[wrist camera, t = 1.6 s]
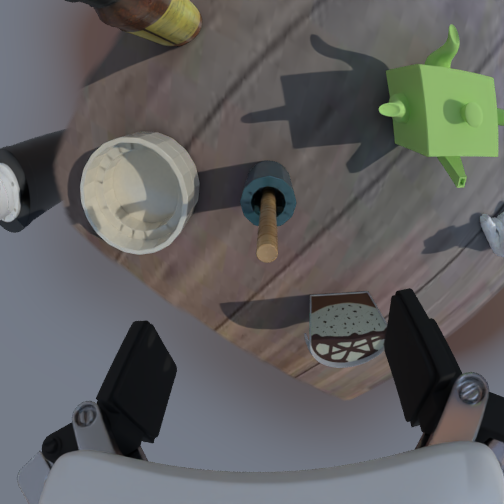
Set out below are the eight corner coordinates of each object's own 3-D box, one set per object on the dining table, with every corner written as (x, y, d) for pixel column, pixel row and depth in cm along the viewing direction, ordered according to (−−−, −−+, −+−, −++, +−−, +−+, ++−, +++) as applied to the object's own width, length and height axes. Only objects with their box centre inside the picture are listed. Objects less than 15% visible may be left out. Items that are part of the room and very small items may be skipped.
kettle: (347, 108, 28) (383, 110, 18) (403, 32, 22) (451, 13, 12) (428, 182, 31) (476, 213, 21) (476, 111, 25) (530, 123, 15)
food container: (298, 324, 44) (303, 373, 36) (299, 295, 41) (305, 344, 33) (370, 319, 43) (385, 364, 35) (376, 290, 40) (397, 336, 32)
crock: (238, 181, 34) (229, 202, 27) (268, 151, 31) (268, 165, 25) (268, 209, 35) (267, 237, 28) (298, 181, 33) (306, 204, 26)
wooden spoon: (262, 192, 33) (256, 270, 19) (262, 172, 32) (255, 235, 17) (274, 192, 33) (277, 271, 19) (274, 172, 32) (278, 235, 17)
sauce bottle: (202, 1, 22) (133, -80, 5) (205, 43, 25) (127, -19, 8) (151, 13, 23) (50, -38, 5) (153, 54, 26) (41, 26, 8)
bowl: (89, 189, 35) (65, 204, 30) (141, 109, 29) (118, 111, 24) (159, 251, 39) (144, 274, 34) (223, 181, 34) (214, 196, 28)
